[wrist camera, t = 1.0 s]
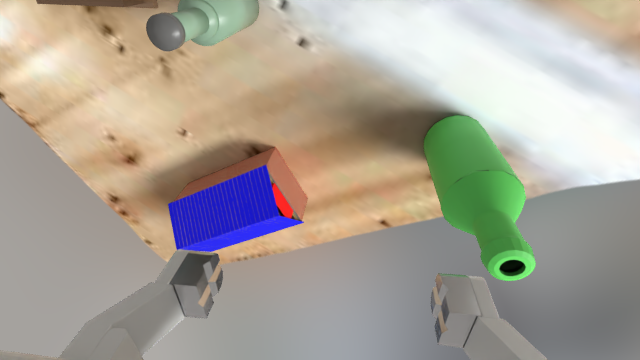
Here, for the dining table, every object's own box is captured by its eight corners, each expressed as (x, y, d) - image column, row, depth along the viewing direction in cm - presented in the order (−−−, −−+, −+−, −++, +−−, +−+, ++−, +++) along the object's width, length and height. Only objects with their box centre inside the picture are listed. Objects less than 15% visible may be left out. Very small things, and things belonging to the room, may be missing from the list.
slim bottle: (218, -17, 42) (124, -3, 26) (257, -16, 41) (186, -1, 25) (224, 26, 44) (142, 63, 28) (260, 27, 44) (198, 66, 28)
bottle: (410, 138, 50) (440, 262, 30) (461, 100, 46) (536, 213, 25) (445, 174, 53) (494, 310, 32) (495, 141, 49) (588, 274, 28)
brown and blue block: (186, 182, 61) (151, 223, 51) (276, 143, 54) (256, 183, 44) (223, 227, 66) (199, 273, 56) (310, 198, 59) (299, 244, 50)
